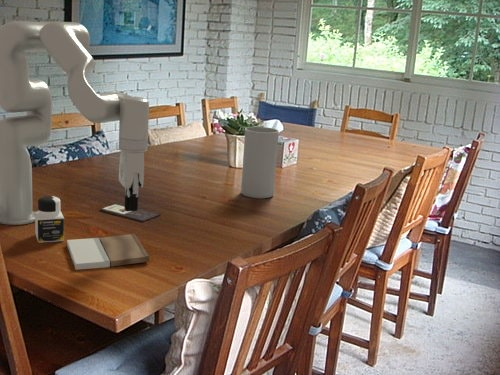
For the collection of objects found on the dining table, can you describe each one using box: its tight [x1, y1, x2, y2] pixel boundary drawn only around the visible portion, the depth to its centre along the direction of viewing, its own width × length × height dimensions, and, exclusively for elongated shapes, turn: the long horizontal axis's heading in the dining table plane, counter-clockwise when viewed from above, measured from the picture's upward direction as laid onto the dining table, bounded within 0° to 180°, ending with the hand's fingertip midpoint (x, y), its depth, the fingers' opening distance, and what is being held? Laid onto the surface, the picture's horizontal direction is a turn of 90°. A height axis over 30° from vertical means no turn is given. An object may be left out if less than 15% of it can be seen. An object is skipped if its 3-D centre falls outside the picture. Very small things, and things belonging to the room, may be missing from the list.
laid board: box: [66, 237, 111, 271], centre depth 173 cm, size 9×18×2 cm, turn 22°
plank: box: [98, 233, 150, 267], centre depth 176 cm, size 10×18×2 cm, turn 22°
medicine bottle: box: [34, 195, 65, 244], centre depth 182 cm, size 7×7×12 cm
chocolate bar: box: [99, 203, 161, 223], centre depth 211 cm, size 9×1×18 cm
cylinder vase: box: [240, 126, 280, 200], centre depth 241 cm, size 12×12×25 cm
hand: (130, 210), depth 174 cm, fingers closed
